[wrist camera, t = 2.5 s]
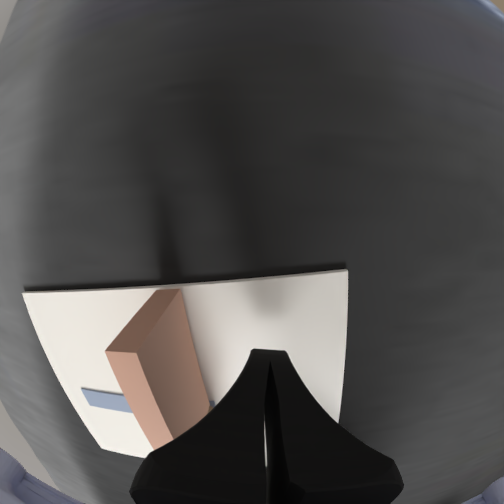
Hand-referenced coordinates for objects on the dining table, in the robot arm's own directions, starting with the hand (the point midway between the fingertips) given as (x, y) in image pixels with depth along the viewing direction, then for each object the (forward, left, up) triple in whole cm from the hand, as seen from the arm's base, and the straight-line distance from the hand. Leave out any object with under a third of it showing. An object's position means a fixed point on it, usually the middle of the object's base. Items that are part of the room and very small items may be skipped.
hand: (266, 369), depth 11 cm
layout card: (-5, +6, -3) cm, 8 cm away
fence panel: (-2, +4, -2) cm, 5 cm away
